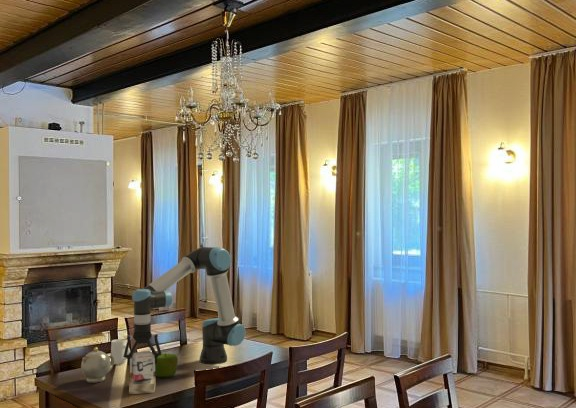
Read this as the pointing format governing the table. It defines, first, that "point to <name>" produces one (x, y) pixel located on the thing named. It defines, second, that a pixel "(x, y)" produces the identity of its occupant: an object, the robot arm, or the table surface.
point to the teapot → (96, 365)
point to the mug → (119, 351)
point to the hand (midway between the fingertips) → (142, 371)
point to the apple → (166, 365)
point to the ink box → (142, 365)
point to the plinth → (142, 386)
